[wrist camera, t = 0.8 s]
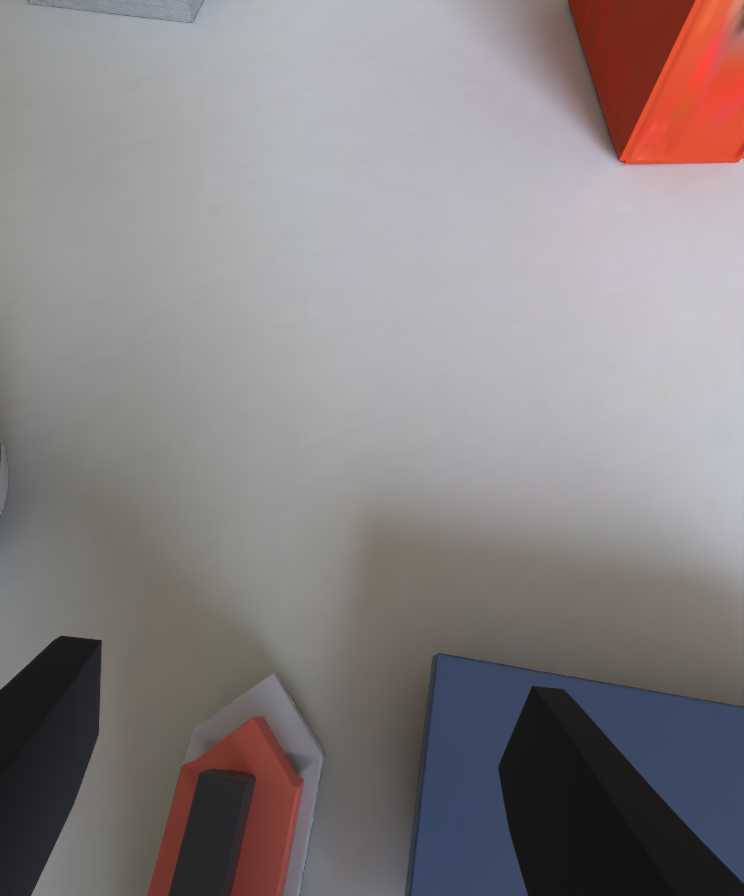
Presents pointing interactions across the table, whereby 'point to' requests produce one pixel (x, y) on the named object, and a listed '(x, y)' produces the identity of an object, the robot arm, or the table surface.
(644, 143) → the file binder
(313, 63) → the table surface
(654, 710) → the ironing board
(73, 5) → the blue roofed model house
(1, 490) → the black egg-shaped figure
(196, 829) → the iron
